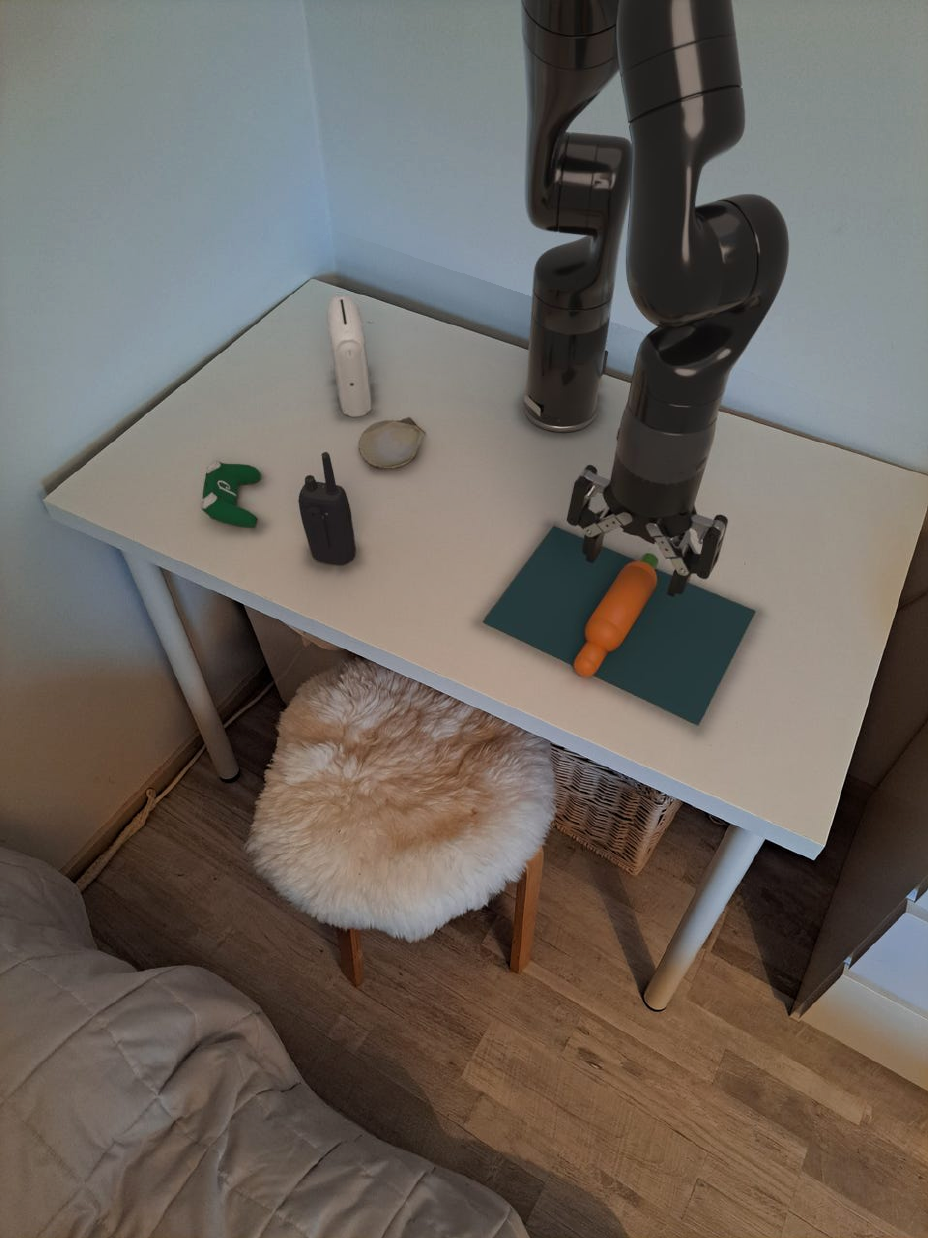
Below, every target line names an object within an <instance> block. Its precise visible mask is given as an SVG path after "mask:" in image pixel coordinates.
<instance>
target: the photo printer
mask: <svg viewBox="0 0 928 1238" xmlns="http://www.w3.org/2000/svg"><path fill="white" fill-rule="evenodd" d="M326 319H327V329H328V337H329V342H330V348H331V354H332V362H333V366H334V373H335V381H336V387H337V388H336V389H337V395H338V399H339V404H340V408H341V411H342V413H343V414H344V415H347V416H349V417H353V418H357V417H363V416H366V415H367V414H368V413H369V412H371V410H372V391H371V381H370V380H371V379H370V370H369V363H368V355H367V354H368V353H367V347H366V346H367V345H366V339H365V329H364V325H363V320H362V319H363V318H362V315H361V312H360V308H359V306H358V305H357V302H356V301H355V300H354V299H353V298H352V297H351V296H349V295H342V296H340V295H339V296H338V295H336V296H334V297H333V298H332V299H331V300H330V302H329V304H328V307H327V309H326Z"/></svg>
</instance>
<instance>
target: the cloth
mask: <svg viewBox="0 0 928 1238" xmlns="http://www.w3.org/2000/svg"><path fill="white" fill-rule="evenodd" d="M583 541H584V537H582V536H580V535H577V534H574V533H572V532H570V531H568V530H565V529H563V528H561V527H559V526H556V525H553V526H552V528H551V529H550V530H549V532H547V534H546V536H545V537H544V539H543V540H542V541H541V543H540V544H539V545H538V547H537V548H536V549H535V550H534V552H533V553H532V554H531V556H530V558H529V559H528V560H527V561H526V563H525V564H524V565H523V567H522V568H521V569H520V571H519V572H518V573H517V575H516V576H515V578H514V579H513V580H512V582H510V584H509V585H508V587H507V589H505V591H504V592H503V593H502V595H501V596H500V598H499V599H498V600H497V602H496V603H495V605H494V606H493V607H492V609H491V610H490V611H489V612H488V614H487V616H485V618H484V619H483V622H482V623H483V624H485V625H486V626H490V627H491V628H494V629H496V630H498V631H500V632H502V633H504V634H506V635H507V636H510V637H512V638H514V639H517V640H519V641H520V642H523V643H525V644H527V645H529V646H531V647H533V648H535V649H537V650H539V651H542V652H543V653H546V654H548V655H550V656H552V657H554V658H555V659H559V660H560V661H563V662H564V663H567V664H569V665H571V666H573V667H574V661H575V659H576V657H577V656H578V654H579V652H580V651H581V649H582V648H583V646H584V645H585V643H586V642H587V640H586V638H585V627H586V624H587V622H588V621H589V619H590V618H591V616H592V614H593V613H594V611H595V610H596V608H597V607H598V605H599V604H600V602H601V601H602V599H603V598H604V596H605V595H606V593H607V592H608V590H609V588H610V587H611V585H612V584H613V582H614V581H615V579H616V578H617V576H618V575H619V573H620V572H621V570H622V569H623V568H624V567H625V566H626V565H627V564H629V563H631V562H634V561H637V560H636V559H634V558H632V557H629V556H627V555H624V554H622V553H619V552H617V551H615V550H614V549H613V550H612V549H610V548H608V547H606V546H603V545H602V549H601V551H600V553H599V555H598V557H597V558H596V560H595V561H594V563H590V562H588V561H586V557H587V555H584V554H583V551H582V548H583ZM655 572H656V575H657V585H656V587H655V590H654V591H653V593H652V594H651V596H650V598H649V599H648V601H647V603H646V604H645V606H644V608H643V609H642V611H641V612H640V614H639V616H638V617H637V619H636V621H635V622H634V624H633V625H632V627H631V629H630V630H629V632H628V634H627V635H626V637H625V639H624V640H623V642H622V643H621V645H620V646H619V647H618V648H616V649H615V650H613V651H610V652H608V653H607V655H606V657H605V658H604V660H603V661H602V663H601V665H600V666H599V668H598V670H597V671H596V673H595V674H593V675H592V676H593V677H596V678H598V679H600V680H601V681H604V682H607V683H608V684H611V685H613V686H614V687H616V688H619V689H621V690H623V691H625V692H627V693H629V694H631V695H633V696H635V697H637V698H639V699H641V700H643V701H646V702H648V703H650V704H652V705H654V706H655V707H658V708H661V709H663V710H665V711H667V712H669V713H671V714H673V715H675V716H677V717H679V718H681V719H684V720H685V721H688V722H690V723H692V724H693V725H696V726H700V724H701V722H702V719H703V718H704V715H705V713H706V712H707V710H708V708H709V706H710V704H711V701H712V699H713V698H714V696H715V693H716V692H717V690H718V687H719V686H720V684H721V682H722V680H723V678H724V676H725V673H726V672H727V670H728V668H729V666H730V664H731V662H732V660H733V658H734V656H735V653H737V650H738V648H739V646H740V643H741V642H742V639H743V638H744V636H745V634H746V632H747V630H748V628H749V626H750V624H751V622H752V620H753V618H754V616H755V614H756V611H757V610H754V609H752V608H749V607H747V606H745V605H742V604H741V603H738V602H735V601H733V600H731V599H729V598H726V597H724V596H721V595H719V594H717V593H715V592H712V591H709V590H707V589H705V588H702V587H700V586H698V585H695V584H693V583H690V582H689V583H688V585H687V587H686V588H685V590H684V592H683V593H682V594H681V595H680V594H677V593H676V594H675V596H674V597H671V596H669V595H667V591H668V588H669V585H670V581H671V578H672V575H673V574H670V573H668V572H665V571H663V570H660V569H657V568H655Z"/></svg>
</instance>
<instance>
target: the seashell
mask: <svg viewBox="0 0 928 1238" xmlns="http://www.w3.org/2000/svg"><path fill="white" fill-rule="evenodd" d="M426 436H427V433H426V431H425V430H423V428H421V427H420V426H419V425H417V423H416V422H415V421H414V420H413V418H412V417H409V416H407V417H405V418H402V419H401V420H393V419H392V420H388V419H387V420H381V421H377V422H375V423H372V424H371V425H369V426H368V427H366V428H365V430H364V431H363V432H362V434H361V436H360V438H359V441H358V450H359V453H360V456H361V457H362V459H363V460H364V461H365V463H368V465H369V466H373V467H374V468H379V469H385V470H388V469H391V470H394V469H395V468H400V467H402V466H405V465H406V464H408V463H410V462H411V460H413V459H414V457H415V456H416V453H417V451H418V449H419V447H420V445H421V443H422V442H423V441H424V439H425V438H426Z"/></svg>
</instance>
